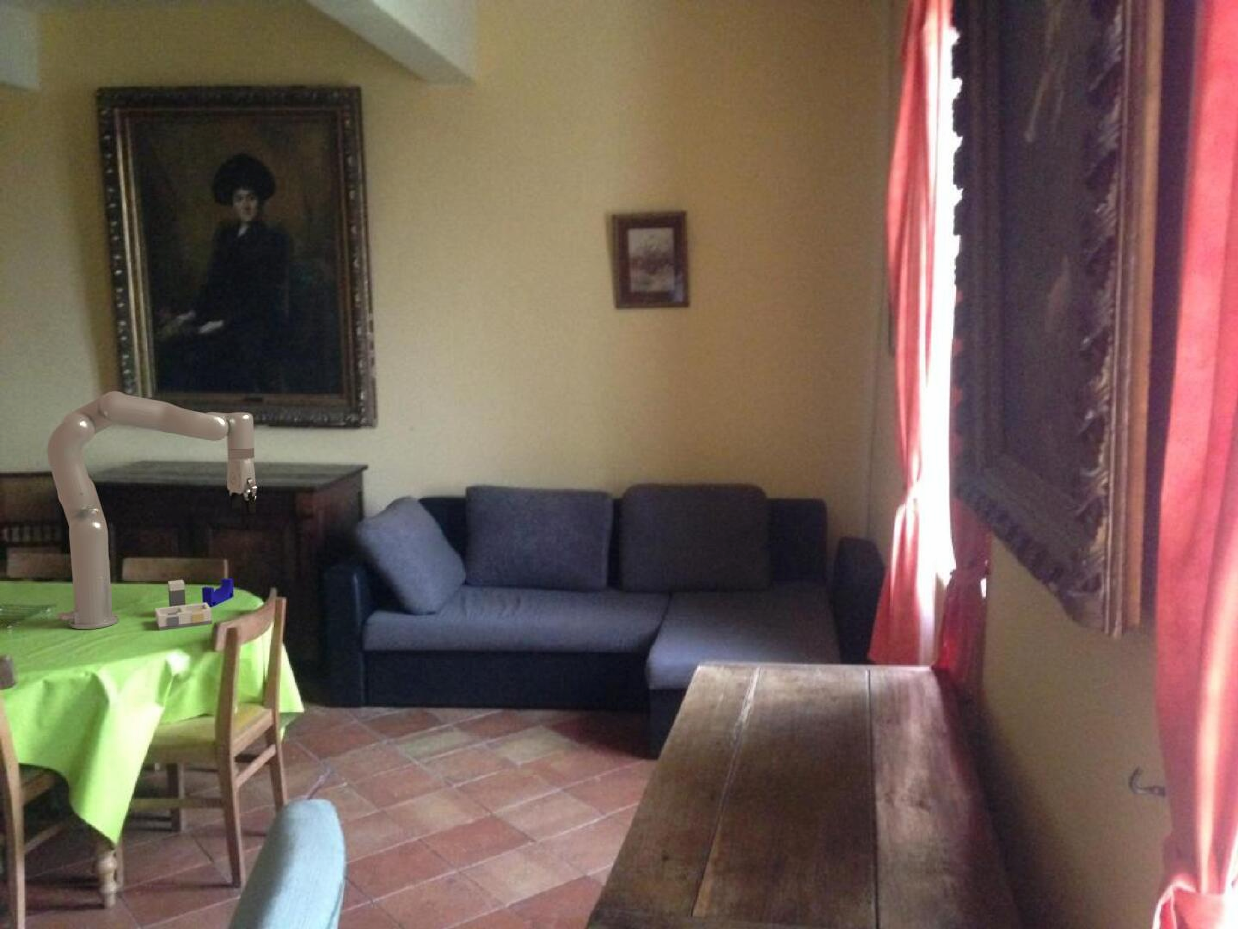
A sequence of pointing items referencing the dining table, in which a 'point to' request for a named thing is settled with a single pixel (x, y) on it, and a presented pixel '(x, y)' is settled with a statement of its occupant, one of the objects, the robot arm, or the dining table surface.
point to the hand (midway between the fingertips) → (243, 510)
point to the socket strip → (183, 616)
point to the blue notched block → (218, 593)
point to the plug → (176, 593)
